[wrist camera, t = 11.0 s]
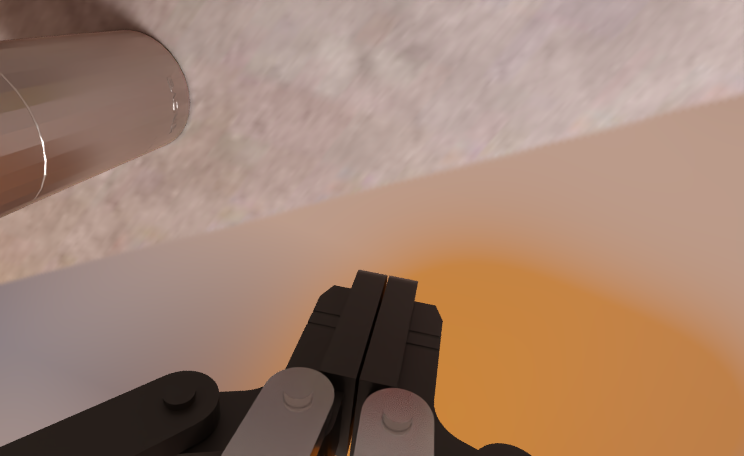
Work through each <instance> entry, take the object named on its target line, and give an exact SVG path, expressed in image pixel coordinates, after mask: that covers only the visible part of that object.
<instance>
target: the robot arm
mask: <svg viewBox="0 0 744 456" xmlns="http://www.w3.org/2000/svg"><path fill="white" fill-rule="evenodd" d="M189 108H190V99H189V90H188V87H187V83H186V80H185V77H184V75H183V73H182V71H181V69H180V67H179V65H178V63H177V62H176V60H175V59H174V58H173V56H172V55H171V54H170V52H168V51H167V50H166V49H165V48H164V47H163V46H162V45H161V44H160V43H159V42H157V41H156V40H154V39H153V38H151V37H150V36H148V35H145V34H143V33H140V32H138V31H132V30H117V31H105V32H93V33H79V34H68V35H57V36H46V37H35V38H24V39H14V40H3V41H0V218H1V217H4V216H6V215H8V214H10V213H13V212H15V211H17V210H19V209H22V208H24V207H26V206H28V205H30V204H33V203H35V202H37V201H39V200H42V199H44V198H46V197H49V196H51V195H53V194H55V193H58V192H60V191H62V190H64V189H67V188H69V187H71V186H74V185H76V184H78V183H80V182H83V181H85V180H87V179H90V178H92V177H94V176H96V175H99V174H101V173H103V172H106V171H108V170H110V169H112V168H115V167H117V166H119V165H122V164H124V163H126V162H128V161H131V160H133V159H136V158H138V157H140V156H142V155H145V154H147V153H149V152H151V151H154V150H156V149H158V148H160V147H163V146H165V145H167V144H169V143H170V142H172V141H174V140H175V139H176V138H177V137H178V136H179V135H180V134H181V132H182V131H183V129H184V127H185V126H186V123H187V119H188V116H189ZM417 284H418V281H413V280H409V279H404V278H399V277H394V276H389V279H388V282H387V275H383V274H378V273H373V272H368V271H362V270H358V272H357V275H356V278H355V280H354V282H353V285H352V288H351V289H350V288H345V287H340V286H335V285H334V286H333V287H331V288H330V289H329V290H327V291H326V292H325V293H323V294H322V295H321V296H320V297H319V299H318V302H317V304H316V306H315V308H314V310H313V313H312V315H311V316H310V319H309V321H308V324H307V325H306V327H305V329H304V331H303V333H302V335H301V337H300V340H299V342H298V344H297V346H296V348H295V350H294V352H293V354H292V357H291V359H290V361H289V363H288V365H287V367H286V369H285V370H282V371H280V372H278V373H276V374H275V375H273V376H272V377H271V378H270V379H269V380H268V381H267V382H266V384H265V385H264V387H261V388H258V389H254V390H248V391H229V392H219V389H218V386H217V384H216V383H215V381H214V380H213V379H211V378H210V377H209V376H208V375H205V374H203V373H200V372H196V371H180V372H175V373H171V374H168V375H165V376H163V377H161V378H158V379H156V380H154V381H151V382H149V383H147V384H145V385H142V386H140V387H138V388H136V389H133V390H131V391H129V392H126V393H124V394H122V395H119V396H117V397H115V398H112V399H110V400H108V401H105V402H103V403H101V404H99V405H96V406H94V407H92V408H89V409H87V410H85V411H82V412H80V413H78V414H76V415H73V416H71V417H68V418H66V419H64V420H62V421H59V422H57V423H55V424H52V425H50V426H48V427H45V428H43V429H41V430H38V431H36V432H34V433H32V434H30V435H27V436H25V437H22V438H21V439H18V440H16V441H13V442H11V443H9V444H6V445H4V446H2V447H0V456H347V453H348V449H349V445H350V442H351V449H350V456H531V455H530V454H528V453H527V452H525V451H524V450H522V449H520V448H518V447H515V446H512V445H508V444H502V443H495V444H489V445H486V446H484V447H482V448H480V449H479V450H477V449H475V448H473V447H472V446H470V445H468V444H466V443H464V442H462V441H461V440H459V439H457V438H456V437H454V436H453V435H452V434H450V433H449V432H448V431H447V430H446V429H445V428H444V427H443V425H442V424H441V423H440V421H439V419H438V417H437V415H436V412H435V408H434V396H435V387H436V377H437V368H438V359H439V349H440V339H441V331H442V322H443V321H442V319H441V316H440V314H439V312H438V310H437V308H436V306H435V305H430V304H425V303H420V302H415V301H414V300H415V295H416V290H417ZM386 285H387V286H386ZM351 438H352V441H351Z"/></svg>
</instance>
